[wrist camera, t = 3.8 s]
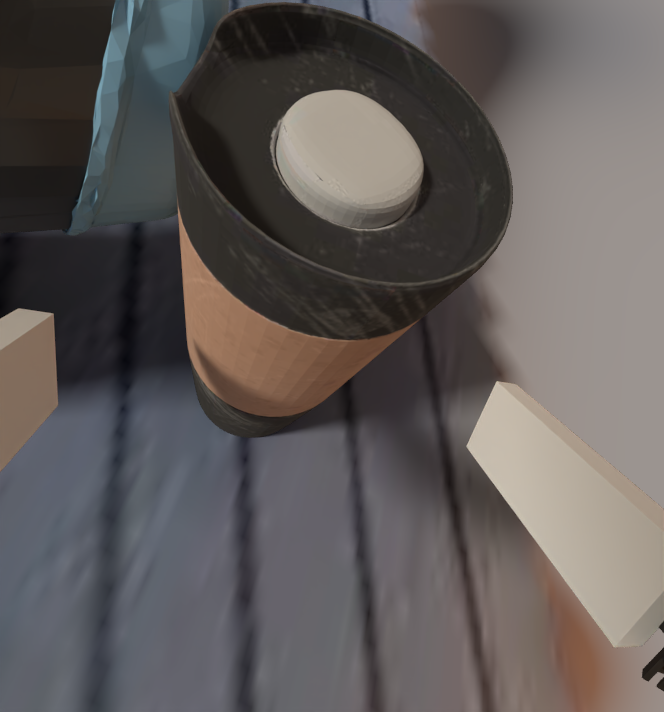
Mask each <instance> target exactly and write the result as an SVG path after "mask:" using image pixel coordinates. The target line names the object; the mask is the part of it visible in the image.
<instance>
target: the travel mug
mask: <svg viewBox="0 0 664 712" xmlns="http://www.w3.org/2000/svg"><path fill="white" fill-rule="evenodd" d="M168 103H169V116H170V122H171V129H172V135H173V146H174V160H175V174H176V188H177V202H178V217H179V231H180V246H181V260H182V275H183V290H184V304H185V319H186V333H187V345H188V352H189V357H190V362H191V367H192V372H193V378H194V383H195V388H196V392H197V396H198V400H199V402H200V405H201V407H202V409H203V411H204V412H205V414H206V415H207V417H208V418H209V419H210V420H211V421H212V422H213V423H214V424H215V425H216V426H218V427H219V428H220V429H222V430H224V431H226V432H228V433H230V434H233V435H236V436H240V437H248V438H253V437H262V436H266V435H270V434H272V433H275V432H277V431H279V430H281V429H282V428H284V427H286V426H287V425H289V424H290V423H292V422H293V421H295V420H296V419H298V418H299V417H301V416H302V415H304V414H305V413H307V412H308V411H310V410H311V409H313V408H314V407H316V406H317V405H319V404H320V403H322V402H323V401H324V400H325V399H326V398H328V397H329V396H330V395H331V394H332V393H334V392H335V391H336V390H337V389H338V388H340V387H341V386H342V385H343V384H344V383H345V382H347V381H348V380H349V379H350V378H351V377H353V376H354V375H355V374H356V373H357V372H358V371H360V370H361V369H362V368H363V367H364V366H366V365H367V364H368V363H369V362H370V361H371V360H373V359H374V358H375V357H376V356H377V355H379V354H380V353H381V352H382V351H383V350H384V349H386V348H387V347H388V346H389V345H390V344H392V343H393V342H394V341H395V340H396V339H397V338H399V337H400V336H401V335H402V334H403V333H404V332H406V331H407V330H408V329H409V328H410V327H412V326H413V325H414V324H415V323H416V322H417V321H419V320H420V319H421V318H422V317H423V316H425V315H426V314H427V313H428V312H429V311H431V310H432V309H433V308H434V307H435V306H436V305H438V304H439V303H440V302H441V301H442V300H444V299H445V298H446V297H447V296H448V295H449V294H451V293H452V292H453V291H454V290H455V289H457V288H458V287H459V286H460V285H461V284H462V283H464V282H465V281H466V280H467V279H468V278H470V277H471V276H472V275H473V274H474V273H475V272H477V271H478V270H479V269H480V268H481V267H482V266H483V265H484V263H485V262H486V261H487V260H488V259H489V257H490V256H491V255H492V254H493V253H494V251H495V250H496V249H497V247H498V245H499V244H500V242H501V240H502V238H503V237H504V234H505V232H506V229H507V226H508V223H509V220H510V217H511V209H512V204H513V192H512V191H513V189H512V188H513V186H512V179H511V172H510V168H509V165H508V161H507V157H506V155H505V152H504V150H503V148H502V144H501V142H500V140H499V138H498V136H497V134H496V132H495V130H494V128H493V126H492V124H491V123H490V121H489V120H488V118H487V117H486V115H485V113H484V112H483V110H482V109H481V107H480V106H479V105H478V104H477V102H476V101H475V100H474V98H473V97H472V96H471V95H470V93H469V92H468V91H467V90H466V89H465V88H464V87H463V86H462V85H461V84H460V83H459V81H458V80H457V79H456V78H455V77H454V76H453V75H451V74H450V73H449V72H448V71H447V70H446V69H445V68H444V67H443V66H442V65H440V64H439V63H438V62H437V61H436V60H434V59H433V58H432V57H431V56H429V55H428V54H427V53H425V52H424V51H422V50H421V49H420V48H418V47H417V46H415V45H414V44H412V43H411V42H409V41H407V40H406V39H404V38H402V37H401V36H399V35H397V34H396V33H394V32H392V31H390V30H388V29H386V28H384V27H382V26H380V25H378V24H375V23H373V22H371V21H368V20H366V19H364V18H361V17H358V16H355V15H352V14H349V13H346V12H343V11H340V10H336V9H331V8H327V7H323V6H317V5H310V4H304V3H287V2H280V3H263V4H257V5H250V6H246V7H243V8H239V9H236V10H234V11H232V12H230V13H228V14H226V15H224V16H223V17H222V18H221V19H220V20H219V21H218V22H217V24H216V26H215V27H214V29H213V32H212V34H211V37H210V39H209V41H208V44H207V46H206V48H205V50H204V52H203V53H202V55H201V56H200V58H199V60H198V61H197V63H196V64H195V66H194V67H193V69H192V70H191V72H190V73H189V75H188V76H187V78H186V79H185V81H184V82H183V83H182V85H181V86H180V88H179V89H178V90H177V91H176V92H174V93H173V92H172V91H171V90H170V92H169V99H168Z"/></svg>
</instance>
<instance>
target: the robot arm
mask: <svg viewBox="0 0 664 712" xmlns="http://www.w3.org/2000/svg"><path fill="white" fill-rule="evenodd" d="M228 9H229V0H0V233H15V232H30V231H46V230H61V229H62V230H63V232H64V234H66V235H78V234H81V233H83V232H86V231H87V230H89V229H90V227H97V226H107V225H116V224H125V223H135V222H144V221H154V220H161V219H166V218H168V217H171V216H174V215H176V214H178V202H177V188H176V174H175V160H174V146H173V135H172V129H171V122H170V116H169V103H168V99H169V92H170V90H171V91H172V92H173V93H174V92H176V91H177V90H178V89H179V88H180V86H181V85H182V83H183V82H184V81H185V79H186V78H187V76H188V75H189V73H190V72H191V70H192V69H193V67H194V66H195V64H196V63H197V61H198V60H199V58H200V56H201V55H202V53H203V52H204V50H205V48H206V46H207V44H208V41H209V39H210V37H211V34H212V32H213V29H214V27H215V26H216V24H217V22H218V21H219V20H220V19H221V18H222V17H223V16H224V15H226V14H228ZM57 406H58V392H57V372H56V352H55V331H54V314H53V313H46V312H40V311H33V310H27V309H20V308H18V309H16V310H15V311H13V312H11V313H9V314H8V315H6V316H4V317H2V318H1V319H0V472H1V471H2V469H3V468H4V467H5V466H6V465H7V464H8V462H9V461H10V460H11V459H12V458H13V457H14V456H15V454H16V453H17V452H18V451H19V450H20V449H21V448H22V446H23V445H24V444H25V443H26V442H27V441H28V439H29V438H30V437H31V436H32V435H33V434H34V433H35V431H36V430H37V429H38V428H39V427H40V426H41V424H42V423H43V422H44V421H45V420H46V419H47V418H48V416H49V415H50V414H51V413H52V412H53V411H54V409H55V408H56V407H57ZM466 447H467V448H468V450H469V451H470V452H471V454H472V455H473V456H474V458H475V459H476V461H477V462H478V463H479V465H480V466H481V467H482V469H483V470H484V471H485V473H486V474H487V475H488V477H489V478H490V480H491V481H492V482H493V484H494V485H495V486H496V488H497V489H498V490H499V492H500V493H501V494H502V496H503V497H504V499H505V500H506V501H507V503H508V504H509V505H510V507H511V508H512V509H513V511H514V512H515V513H516V515H517V516H518V518H519V519H520V520H521V522H522V523H523V524H524V526H525V527H526V528H527V530H528V531H529V532H530V534H531V535H532V537H533V538H534V539H535V541H536V542H537V543H538V545H539V546H540V547H541V549H542V550H543V551H544V553H545V554H546V556H547V557H548V558H549V560H550V561H551V562H552V564H553V565H554V566H555V568H556V569H557V570H558V572H559V573H560V575H561V576H562V577H563V579H564V580H565V581H566V583H567V584H568V585H569V587H570V588H571V589H572V591H573V592H574V594H575V595H576V596H577V598H578V599H579V600H580V602H581V603H582V604H583V605H584V607H585V608H586V610H587V611H588V612H589V614H590V615H591V617H592V618H593V619H594V621H595V622H596V623H597V625H598V626H599V627H600V629H601V630H602V631H603V633H604V634H605V636H606V637H607V638H608V640H609V641H610V642H611V644H612V645H613V646H614V648H618V647H638V646H643V645H644V644H645V643H646V641H647V640H648V639H649V638H650V637H651V636H652V635H653V634H654V633H655V632H656V631H657V629H658V628H660V629H661V630H662V632H663V633H664V509H663V508H662V507H661V506H659V505H658V504H657V503H656V502H655V501H654V500H652V499H651V498H650V497H649V496H648V495H646V494H645V493H644V492H643V491H642V490H640V489H639V488H638V487H637V486H636V485H635V484H633V483H632V482H631V481H630V480H629V479H628V478H626V477H625V476H624V475H623V474H621V473H620V472H619V471H618V470H617V469H616V468H615V467H613V466H612V465H611V464H610V463H608V462H607V461H606V460H605V459H604V458H603V457H602V456H600V455H599V454H598V453H596V451H594V450H593V449H592V448H591V447H590V446H589V445H587V444H586V443H585V442H584V441H583V440H581V439H580V438H579V437H578V436H577V435H575V434H574V433H573V432H572V431H570V430H569V429H568V428H567V427H566V426H565V425H564V424H562V423H561V422H560V421H559V420H558V419H557V418H555V417H554V416H553V415H552V414H551V413H549V412H548V411H547V410H546V409H545V408H543V407H542V406H541V405H540V404H539V403H538V402H536V401H535V400H534V399H533V398H532V397H531V396H529V395H528V394H527V393H526V392H525V391H523V390H522V389H521V388H520V387H519V386H518V385H516V384H512V383H505V382H499V381H496V384H495V386H494V388H493V390H492V392H491V394H490V397H489V399H488V401H487V403H486V405H485V407H484V410H483V412H482V414H481V416H480V418H479V420H478V423H477V425H476V427H475V429H474V431H473V433H472V436H471V438H470V440H469V442H468V444H467V446H466ZM657 672H660V673H663V674H664V648H663V649H662V650H661V651H660V652H659V653H658V654H657V655H656V656H655V657H654V658H653V659H652V660H651V661H650V662H649V663H648V665H646V666H645V668H644V669H643V672H642V678H643V679H645V680H646V681H649V680H650V679H651V678H652V677H653V676H654V675H655V674H656V673H657ZM657 687H658V688H659V689H661V690H663V691H664V678H663V679H662V680H660V682H659V683H658V684H657Z"/></svg>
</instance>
